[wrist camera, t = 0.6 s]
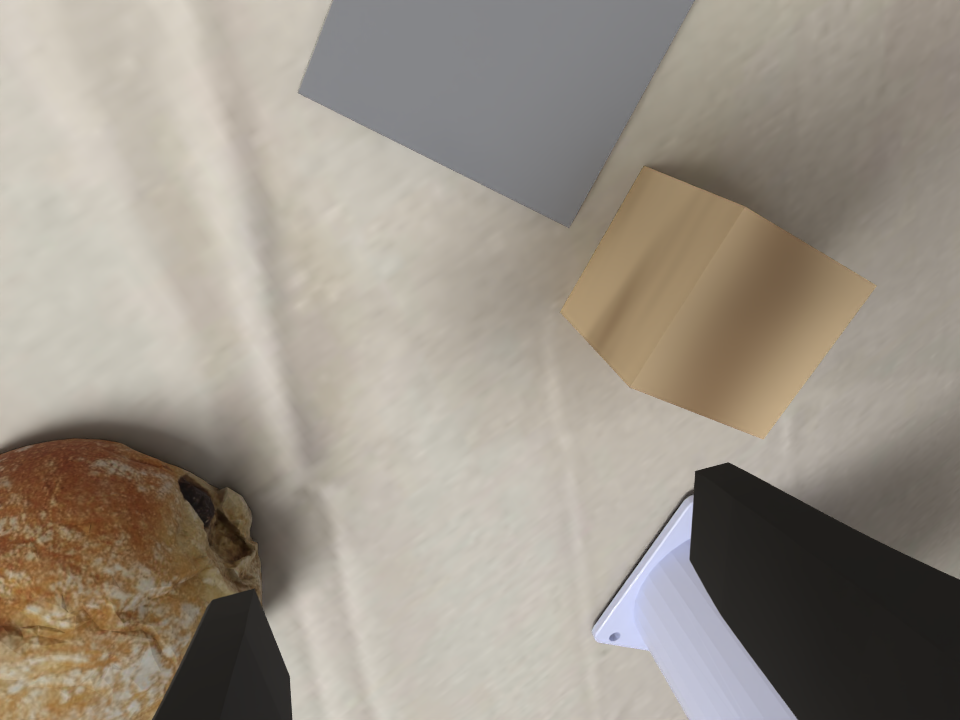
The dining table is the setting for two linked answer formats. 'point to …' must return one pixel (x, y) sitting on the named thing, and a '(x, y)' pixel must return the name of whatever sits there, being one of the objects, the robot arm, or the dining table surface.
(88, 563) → the bread roll
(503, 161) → the slate coaster
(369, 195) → the dining table surface
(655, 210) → the oak block
